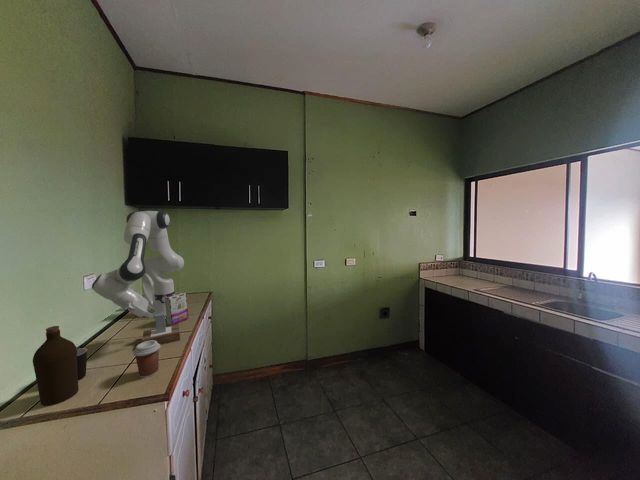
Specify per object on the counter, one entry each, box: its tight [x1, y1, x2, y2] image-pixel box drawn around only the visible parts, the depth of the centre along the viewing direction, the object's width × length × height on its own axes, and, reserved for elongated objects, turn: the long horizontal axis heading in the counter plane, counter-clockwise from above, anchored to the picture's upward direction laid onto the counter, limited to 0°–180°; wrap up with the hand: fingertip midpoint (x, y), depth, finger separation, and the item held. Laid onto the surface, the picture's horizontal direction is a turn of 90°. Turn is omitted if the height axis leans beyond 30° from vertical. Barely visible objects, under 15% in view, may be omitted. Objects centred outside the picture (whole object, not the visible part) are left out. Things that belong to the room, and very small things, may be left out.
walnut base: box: [141, 323, 181, 346], centre depth 132 cm, size 14×16×4 cm
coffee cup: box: [132, 340, 161, 379], centre depth 102 cm, size 9×9×12 cm
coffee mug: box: [77, 347, 88, 381], centre depth 100 cm, size 12×9×10 cm
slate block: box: [154, 313, 167, 334], centre depth 132 cm, size 4×4×9 cm
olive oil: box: [32, 325, 80, 407], centre depth 89 cm, size 11×11×25 cm
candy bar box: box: [165, 292, 189, 326], centre depth 156 cm, size 11×5×16 cm, turn 155°
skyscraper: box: [141, 273, 155, 308], centre depth 183 cm, size 8×8×28 cm
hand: (153, 314), depth 130 cm, fingers open, 8 cm apart
